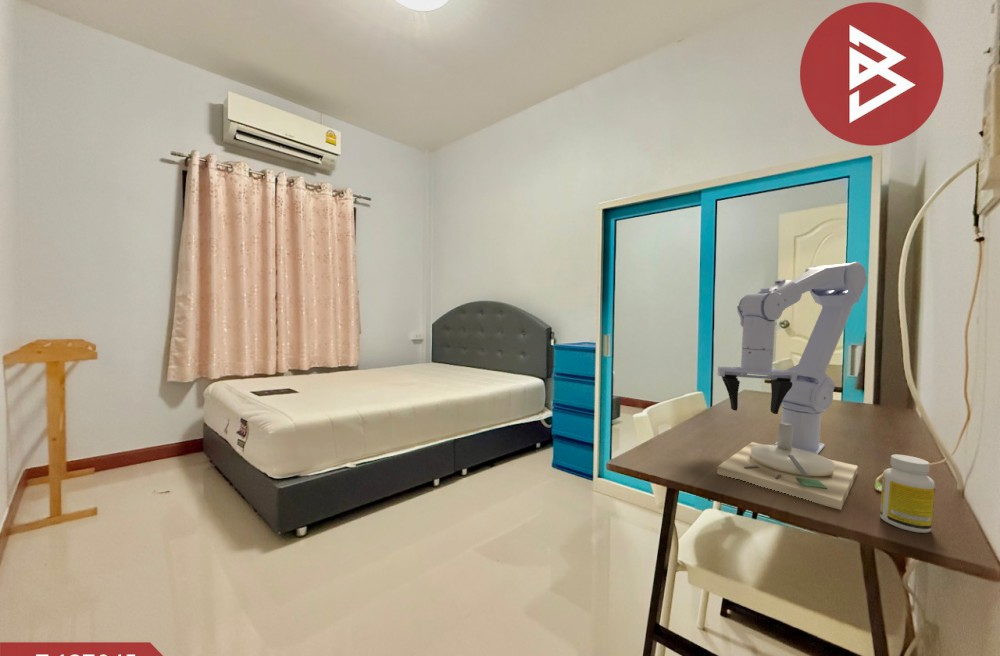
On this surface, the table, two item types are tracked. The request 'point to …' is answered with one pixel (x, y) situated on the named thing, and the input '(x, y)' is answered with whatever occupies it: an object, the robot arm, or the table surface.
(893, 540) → the table surface
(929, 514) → the supplement bottle
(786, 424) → the tuning knob
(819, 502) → the dial board
